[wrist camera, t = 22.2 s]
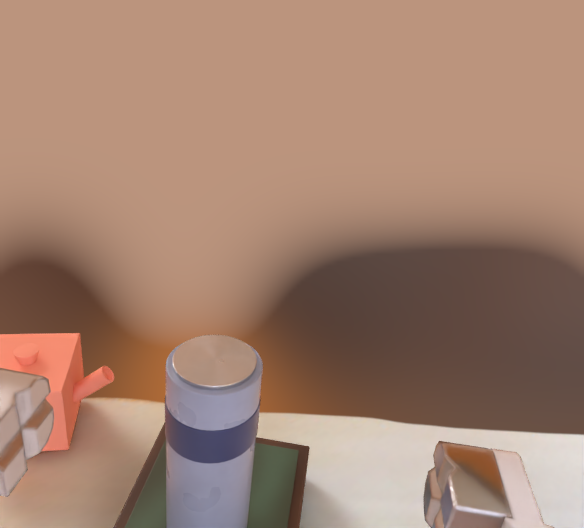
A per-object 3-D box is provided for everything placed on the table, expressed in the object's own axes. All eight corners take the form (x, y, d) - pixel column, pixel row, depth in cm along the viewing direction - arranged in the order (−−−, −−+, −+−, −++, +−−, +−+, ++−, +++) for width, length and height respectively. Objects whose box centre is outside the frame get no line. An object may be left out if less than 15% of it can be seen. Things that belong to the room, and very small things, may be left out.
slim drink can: (254, 496, 37) (271, 338, 31) (238, 568, 32) (254, 399, 26) (180, 482, 37) (182, 324, 31) (153, 552, 33) (149, 381, 27)
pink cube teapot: (111, 456, 44) (106, 377, 40) (-50, 466, 41) (-71, 383, 37) (121, 393, 50) (117, 321, 47) (-16, 398, 48) (-32, 322, 44)
